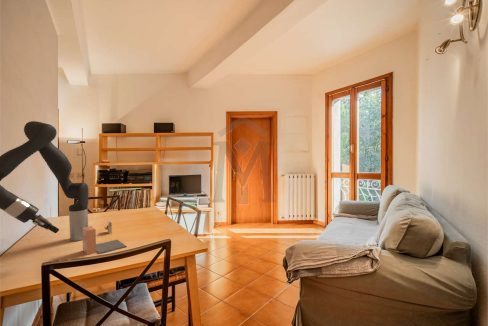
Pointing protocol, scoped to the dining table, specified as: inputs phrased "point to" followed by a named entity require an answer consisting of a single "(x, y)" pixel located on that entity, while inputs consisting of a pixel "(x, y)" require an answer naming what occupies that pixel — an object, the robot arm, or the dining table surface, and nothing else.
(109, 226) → the architectural model
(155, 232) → the dining table surface
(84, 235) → the pink rectangular block
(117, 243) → the mat
